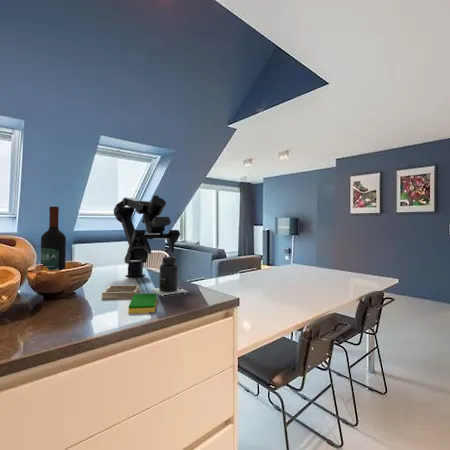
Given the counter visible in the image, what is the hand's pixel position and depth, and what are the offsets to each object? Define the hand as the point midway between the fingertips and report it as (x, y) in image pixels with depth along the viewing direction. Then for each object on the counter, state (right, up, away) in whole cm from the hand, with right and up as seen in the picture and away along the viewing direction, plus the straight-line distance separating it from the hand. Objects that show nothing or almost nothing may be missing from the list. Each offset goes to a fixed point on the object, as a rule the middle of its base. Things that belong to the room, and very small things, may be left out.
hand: (162, 252), depth 111 cm
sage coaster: (+4, -14, -6) cm, 15 cm away
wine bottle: (-37, -13, -9) cm, 40 cm away
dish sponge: (0, -14, -24) cm, 28 cm away
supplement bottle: (+4, -13, -6) cm, 15 cm away
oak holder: (-11, -13, -11) cm, 21 cm away
